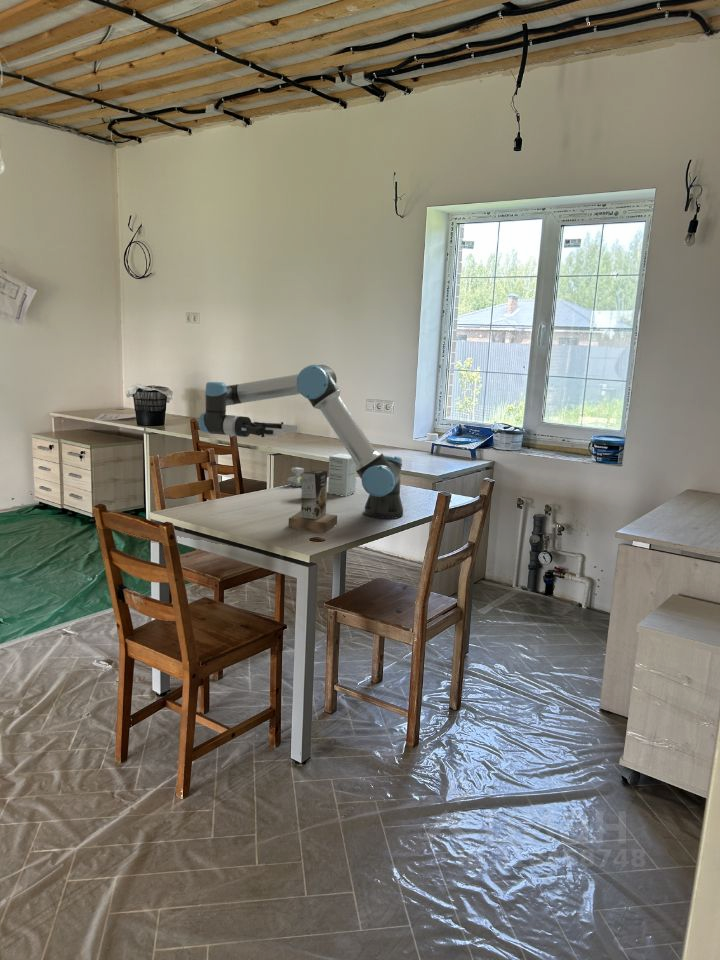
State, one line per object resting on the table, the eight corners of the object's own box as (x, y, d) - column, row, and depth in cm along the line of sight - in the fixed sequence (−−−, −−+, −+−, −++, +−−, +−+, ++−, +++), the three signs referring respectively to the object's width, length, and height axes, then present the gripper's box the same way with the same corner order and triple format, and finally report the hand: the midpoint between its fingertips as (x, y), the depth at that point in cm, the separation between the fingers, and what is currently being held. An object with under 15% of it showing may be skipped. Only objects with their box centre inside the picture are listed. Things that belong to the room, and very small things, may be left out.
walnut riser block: (336, 526, 243) (337, 515, 242) (326, 534, 232) (326, 522, 231) (300, 521, 247) (300, 511, 246) (288, 529, 235) (288, 518, 234)
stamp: (309, 486, 305) (310, 468, 303) (299, 488, 300) (300, 470, 298) (295, 483, 310) (295, 465, 309) (285, 485, 305) (285, 467, 303)
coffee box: (317, 520, 234) (318, 474, 231) (300, 517, 236) (301, 472, 233) (326, 514, 242) (328, 470, 239) (310, 512, 244) (311, 468, 241)
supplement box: (337, 490, 300) (339, 453, 297) (355, 493, 297) (357, 455, 293) (327, 494, 292) (328, 455, 289) (346, 497, 288) (347, 458, 285)
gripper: (253, 432, 263) (303, 437, 257) (221, 439, 240) (275, 445, 234) (254, 413, 262) (304, 418, 255) (221, 418, 239) (275, 423, 232)
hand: (290, 431), depth 244 cm, fingers open, 13 cm apart
